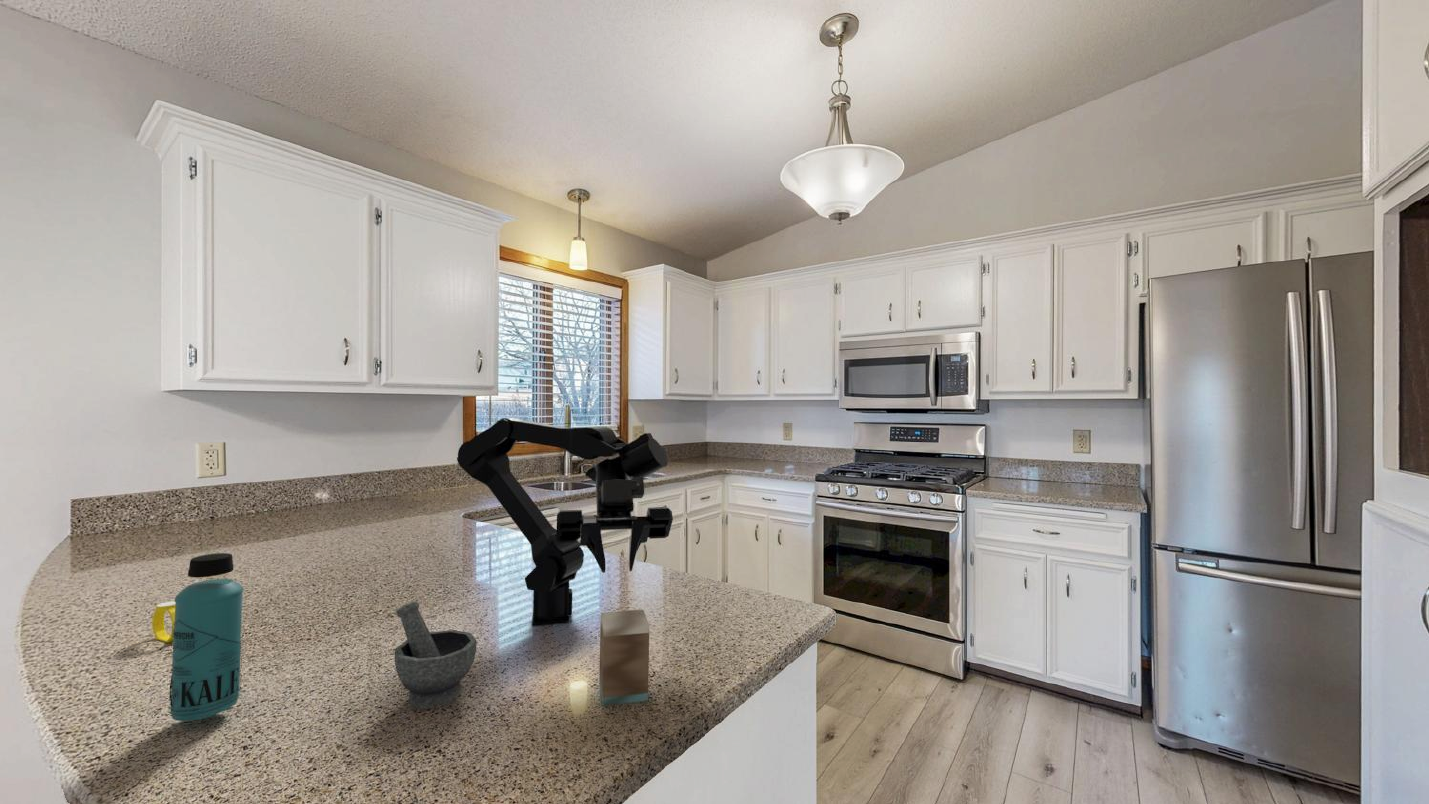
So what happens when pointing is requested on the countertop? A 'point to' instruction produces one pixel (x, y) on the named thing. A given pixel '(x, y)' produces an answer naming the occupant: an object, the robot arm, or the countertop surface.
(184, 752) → the countertop surface
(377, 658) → the countertop surface
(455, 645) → the mortar and pestle
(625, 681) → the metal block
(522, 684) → the countertop surface
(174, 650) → the beverage bottle
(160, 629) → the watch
